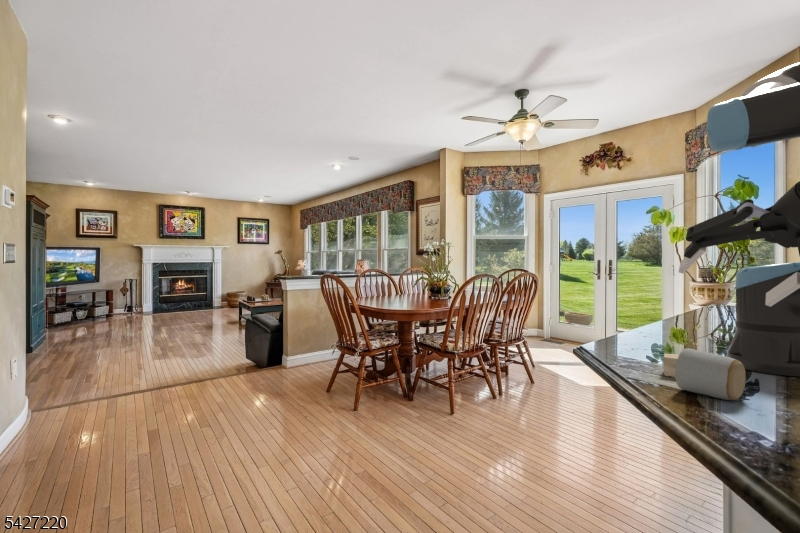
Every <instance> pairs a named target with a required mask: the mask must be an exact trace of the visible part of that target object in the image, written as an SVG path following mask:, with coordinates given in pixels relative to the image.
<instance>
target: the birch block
mask: <svg viewBox="0 0 800 533" xmlns="http://www.w3.org/2000/svg"><path fill="white" fill-rule="evenodd" d="M678 356H679V354H672V353H665V352H664V354H663V376H664V375H665V376H664V377H669V376H672V377H671V378H676V376H675V371H676V362H677V359H678Z"/></svg>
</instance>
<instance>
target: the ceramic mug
mask: <svg viewBox="0 0 800 533" xmlns="http://www.w3.org/2000/svg"><path fill="white" fill-rule="evenodd" d="M678 355H679V356H678V359H677V362H676V371H675V376H676V377H675V381H676V385H677V386H678V389H680V390H682V391H685V390H686V392H690V393H695V394H697V395H702V394H703V396H708V397H712V398H716V399H721V400H723V401H724V400H727V401H736V400H738V399H740V398H741V397H742V395H743V394H744V391H745V385H746V381H747V379H746V378H747V376H746V369H745V368H744V366H743V364H742V363H741V362H740V361H738V360H736V359H733V358H730V357H727V355H721V354H716V353H710V352H706V351H702V350H697V349H694V348H688V347H687V348H684V349H682V350H681V351H680V353H679V354H678Z"/></svg>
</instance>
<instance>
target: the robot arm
mask: <svg viewBox="0 0 800 533" xmlns="http://www.w3.org/2000/svg"><path fill="white" fill-rule="evenodd" d="M706 131H707V132H706V133H707V140H708V144H709V147H710V150H712V151H713V152H717V153H718V152H724V151H725V152H727V151H738V150H742V149H745V148H749V147H755V146H760V145H764V144H770V143H776V142H780V141H787V140H791V139H796V138H800V62H797V63H794V64H791V65H788V66H786V67H784V68H782V69H779V70H777V71H775V72H773V73H771V74H768V75H767V76H765V77H763V78H761V79H759V80H757V81H756V82H754V83H752V84H751V85H750V86H748V87H747V88H746V89H745V90H744V91H743V92H742V94H741V95H740V96H739V97H734V98H731V99H729V100H727V101H723V102H720V103H717V104H714V105H712V106H710V107H709V110H708V111H707V115H706ZM754 202H755V201H754V200H753V199H750V198H749V199H745V200H743V201H742V202H741V203H740V204H738V205H737V206H735V208H733V209H729V210H728V211H727V210H726V211H725V212H723V213H721V214H718V215H715V216H713V217H710V218H708V219H706V220H704V221H701V222H699V223H697V224H694V225H692V226H690V227H688V228H687V230H686V235H685V241H687V242H689V244H688V246H686V248H685V249H684V254H683V257H684V258H683V259H682V260H681V261H680V264H679V267H678V273H679V274H682V275H683V274H685V273H686V272H687V270H688V269H689V268H691V267H692V265H694V264H695V263H696V261H698V260H699V259H700V258H701V257H702V256H703V255H704V254H705V253H706V252H707V248H708V247H713V246H719V245H725V244H729V243H735V242H740V241H745V240H750V241H755V240H756V241H757V240H762V239H763V241H765V242H768V243H771V244H777V245H779V246H780V247H783V248H786V249H790V248H797V249H798V254H799V255H798V256H799V257H800V180H799V181H797V182H796V183H795V184H794V185H793V186H792V187H791V188H790V189H788V191H786V192H785V193H784V194H783V195H782V196H781V197H780V198H778V199H777V201H776V202H775V203H774V204H773V205H771V206H769V207H767V208H762V207H761V206H759V205H758V206H757V205H755V204H754ZM753 218H754V219H753ZM750 219H751V220H750ZM744 221H747V222H746V223H743V224H740V223H741V222H744ZM758 228H759V230H758ZM690 242H691V243H690ZM734 290H735V325H736V326H735V328H736V329H735V333H734V334H733V338H732V341H731V342H730V345H729V347H728V349H727V351H726V352H727V353H726V357H730V358H733V359H736V360H738V361H740V362H741V363H742V364H743V366H744V368H745V370H748V371H751V372H752V371H753V372H758V373H763V374H770V375H771V374H772V375H778V376H789V377H800V261H795V262H785V263H776V264H774V263H773V264H767V265H757V266H748V267H743V268H741V269H739V270H738V271H737V272H736V275H735V286H734Z"/></svg>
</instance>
